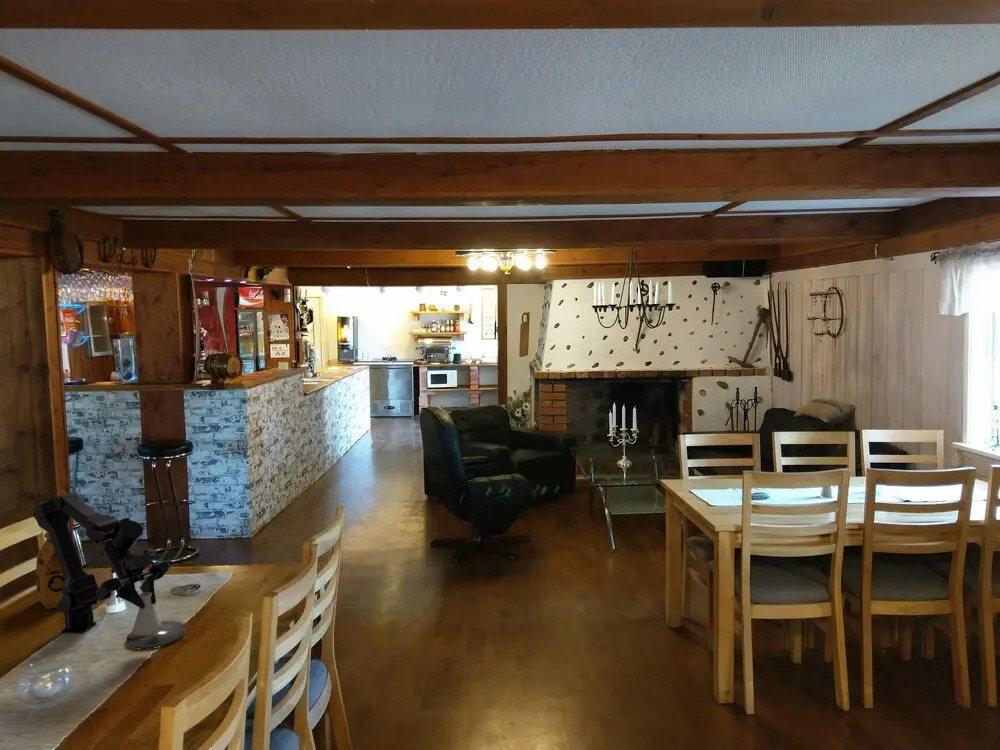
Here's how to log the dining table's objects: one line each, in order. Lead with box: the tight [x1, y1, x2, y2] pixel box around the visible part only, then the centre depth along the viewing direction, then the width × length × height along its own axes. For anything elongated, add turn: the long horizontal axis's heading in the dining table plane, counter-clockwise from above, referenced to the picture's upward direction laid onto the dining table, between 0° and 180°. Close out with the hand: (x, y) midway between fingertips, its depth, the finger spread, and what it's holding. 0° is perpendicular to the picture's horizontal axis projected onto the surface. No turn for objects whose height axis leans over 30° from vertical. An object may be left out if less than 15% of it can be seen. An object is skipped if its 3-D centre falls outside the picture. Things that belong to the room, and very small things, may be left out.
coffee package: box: [35, 531, 65, 610], centre depth 218 cm, size 10×12×22 cm
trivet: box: [126, 620, 187, 650], centre depth 194 cm, size 15×15×1 cm
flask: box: [130, 592, 162, 635], centre depth 185 cm, size 7×7×10 cm
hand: (149, 605), depth 184 cm, fingers closed on flask, 3 cm apart
